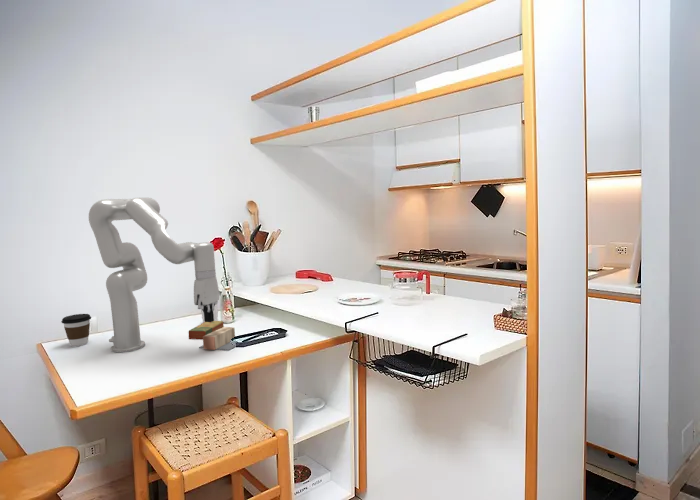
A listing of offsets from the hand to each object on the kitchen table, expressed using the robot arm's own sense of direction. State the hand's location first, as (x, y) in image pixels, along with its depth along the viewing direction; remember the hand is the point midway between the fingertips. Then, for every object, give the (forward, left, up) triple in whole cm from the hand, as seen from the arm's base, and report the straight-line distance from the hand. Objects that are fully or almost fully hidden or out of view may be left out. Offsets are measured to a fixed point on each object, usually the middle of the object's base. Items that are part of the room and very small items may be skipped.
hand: (209, 321), depth 184 cm
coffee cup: (-62, -7, -11) cm, 63 cm away
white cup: (-26, +34, -11) cm, 44 cm away
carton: (-16, +18, -12) cm, 27 cm away
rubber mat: (+1, +8, -11) cm, 14 cm away
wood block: (0, -1, -8) cm, 8 cm away
